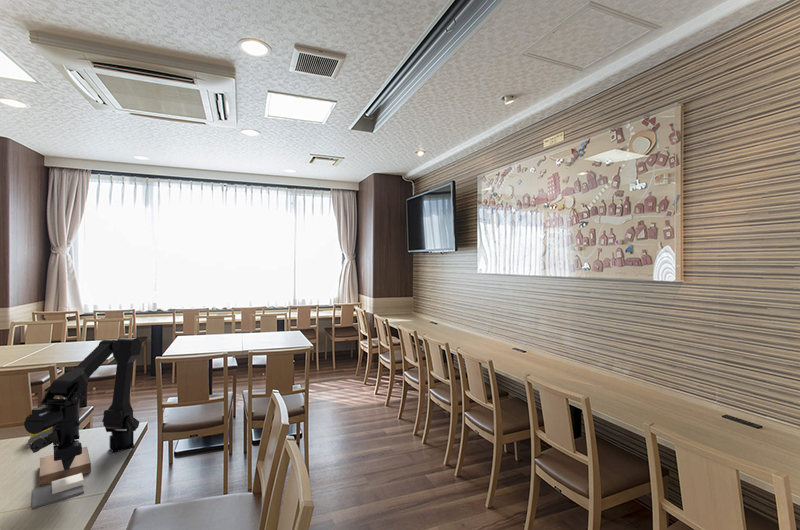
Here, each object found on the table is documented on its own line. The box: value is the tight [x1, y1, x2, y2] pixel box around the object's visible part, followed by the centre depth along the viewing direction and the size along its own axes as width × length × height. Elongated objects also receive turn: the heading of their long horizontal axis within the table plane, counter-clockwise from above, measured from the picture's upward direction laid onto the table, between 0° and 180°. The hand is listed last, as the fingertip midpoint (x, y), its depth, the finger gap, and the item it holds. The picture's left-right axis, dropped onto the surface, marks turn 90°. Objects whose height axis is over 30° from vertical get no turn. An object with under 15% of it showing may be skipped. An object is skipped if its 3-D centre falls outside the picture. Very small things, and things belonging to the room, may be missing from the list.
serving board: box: [39, 446, 92, 487], centre depth 124 cm, size 12×14×3 cm
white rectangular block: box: [51, 473, 84, 494], centre depth 115 cm, size 7×5×2 cm
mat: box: [31, 483, 85, 510], centre depth 113 cm, size 11×11×1 cm
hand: (66, 469), depth 117 cm, fingers closed
